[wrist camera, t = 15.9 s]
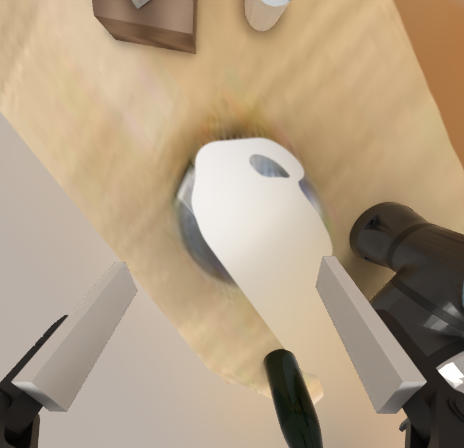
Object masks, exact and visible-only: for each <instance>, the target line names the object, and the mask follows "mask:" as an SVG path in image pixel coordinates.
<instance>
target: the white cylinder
mask: <svg viewBox="0 0 464 448" xmlns="http://www.w3.org/2000/svg"><path fill="white" fill-rule="evenodd" d="M290 2H291V0H245V3H244V9H245V16H246V18H247V20H248V23H249V24H250V25H251V26H252V27H253V28H254V29H255V30H258V31H261V32H262V31H266V30H269V29H270V28H271V27H273V26H274V25H275V23H276V22H277V20H278V19H279V18H280V16H281V15H282V13H283V12H284V10H285V9H286V8H287V6H288V5H289V3H290Z"/></svg>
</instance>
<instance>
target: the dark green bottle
mask: <svg viewBox="0 0 464 448" xmlns="http://www.w3.org/2000/svg"><path fill="white" fill-rule="evenodd" d="M264 366H265V370H266V374H267V378H268V382H269V386H270V390H271V394H272V398H273V402H274V405H275V410H276V413H277V417H278V420H279V424H280V427H281V430H282V433H283V435H284V438H285V440H286V443H287V444H288V446H289V448H323V442H322V435H321V429H320V425H319V421H318V417H317V414H316V411H315V408H314V405H313V403H312V400H311V397H310V394H309V392H308V389H307V386H306V384H305V381H304V379H303V376H302V373H301V371H300V368H299V366H298V363H297V361H296V358H295V356H294V354H293V353H291V352H290V351H287V350H278V351H275V352H273V353H271V354H270V355H268V356H267V358H266V359H265V362H264Z"/></svg>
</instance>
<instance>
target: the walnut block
mask: <svg viewBox="0 0 464 448" xmlns="http://www.w3.org/2000/svg"><path fill="white" fill-rule="evenodd" d="M92 3H93V11H94V16H95V17H96V18H97V19H98V20H99V21H100V23H101V24H102V25H103V26H104V27H105V28H106V29H107V30H108V32H109V33H110V34H111V35H112V36H113V37H114V38H115V39H116V40H121V41H127V42H133V43H138V44H144V45H150V46H155V47H161V48H167V49H172V50H178V51H184V52H189V53H195V54H196V30H197V0H149V1H148V2H147V3H145V4H144V5H143V6H141V7H140V8H139V9H137V8H136V6H135V5H134V3H133V2H132V0H92Z"/></svg>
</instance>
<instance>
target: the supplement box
mask: <svg viewBox="0 0 464 448" xmlns="http://www.w3.org/2000/svg"><path fill="white" fill-rule="evenodd" d="M148 1H149V0H132V2H133V3H134V5H135V6H136V8H137V9H139V8H140V7H141V6H143V5H144V4H145V3H147V2H148Z"/></svg>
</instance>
